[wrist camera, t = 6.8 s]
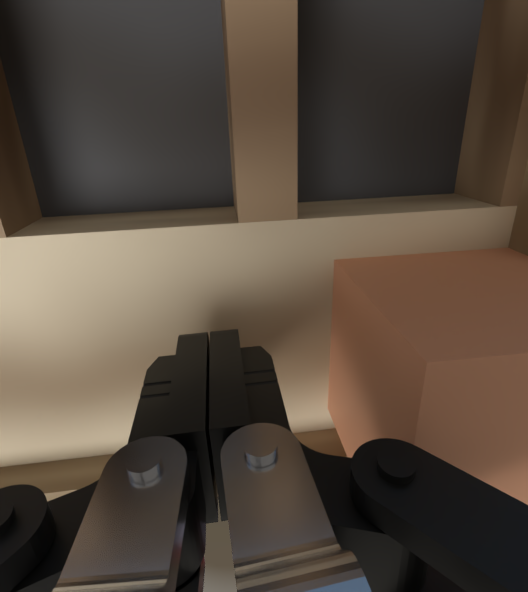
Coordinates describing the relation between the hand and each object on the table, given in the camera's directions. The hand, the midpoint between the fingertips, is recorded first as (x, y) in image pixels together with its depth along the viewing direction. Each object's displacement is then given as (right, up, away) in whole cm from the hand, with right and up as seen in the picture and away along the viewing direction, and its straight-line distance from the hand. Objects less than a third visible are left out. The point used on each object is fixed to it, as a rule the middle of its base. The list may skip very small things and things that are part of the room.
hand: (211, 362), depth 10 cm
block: (+6, +1, +2) cm, 6 cm away
